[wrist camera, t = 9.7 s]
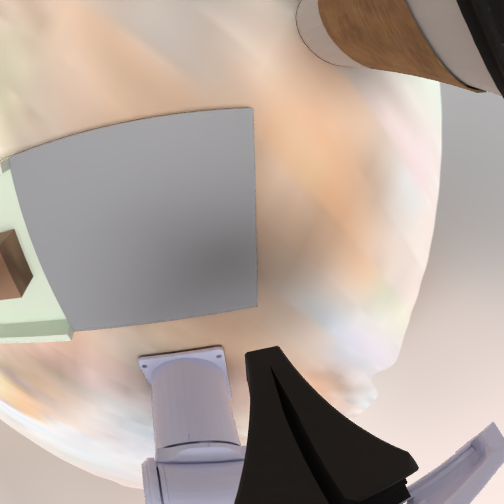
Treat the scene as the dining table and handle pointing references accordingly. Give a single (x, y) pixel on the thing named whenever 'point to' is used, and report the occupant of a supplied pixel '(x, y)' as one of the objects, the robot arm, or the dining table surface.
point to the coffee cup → (411, 38)
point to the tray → (38, 291)
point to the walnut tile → (12, 267)
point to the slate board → (145, 218)
